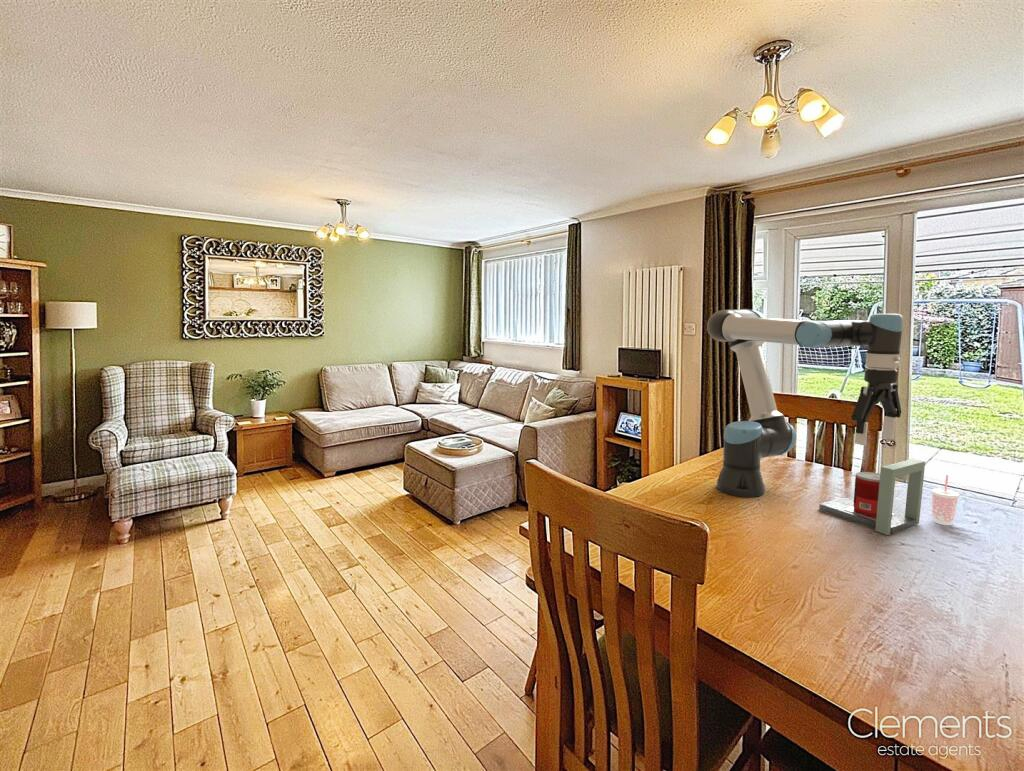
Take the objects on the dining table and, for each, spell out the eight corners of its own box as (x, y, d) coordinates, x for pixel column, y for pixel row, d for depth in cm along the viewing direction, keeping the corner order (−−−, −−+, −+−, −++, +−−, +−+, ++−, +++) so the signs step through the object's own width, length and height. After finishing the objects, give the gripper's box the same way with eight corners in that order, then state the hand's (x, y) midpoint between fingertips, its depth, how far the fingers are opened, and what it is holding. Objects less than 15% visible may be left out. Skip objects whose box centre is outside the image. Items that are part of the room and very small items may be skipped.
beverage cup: (943, 527, 141) (949, 479, 139) (922, 518, 147) (927, 472, 145) (962, 525, 142) (967, 477, 140) (940, 516, 148) (945, 471, 146)
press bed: (819, 509, 154) (819, 503, 154) (842, 503, 160) (843, 496, 159) (891, 534, 137) (891, 526, 136) (915, 526, 142) (916, 518, 141)
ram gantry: (875, 530, 138) (880, 466, 136) (907, 520, 145) (912, 458, 143) (887, 534, 136) (893, 469, 133) (919, 523, 142) (925, 461, 140)
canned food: (891, 517, 142) (895, 480, 141) (860, 515, 144) (863, 479, 142) (878, 507, 150) (881, 472, 148) (848, 506, 151) (851, 471, 150)
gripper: (869, 372, 132) (862, 450, 136) (920, 367, 143) (913, 439, 146) (840, 369, 139) (834, 443, 142) (891, 364, 150) (884, 433, 153)
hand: (874, 441), depth 144 cm, fingers open, 13 cm apart
